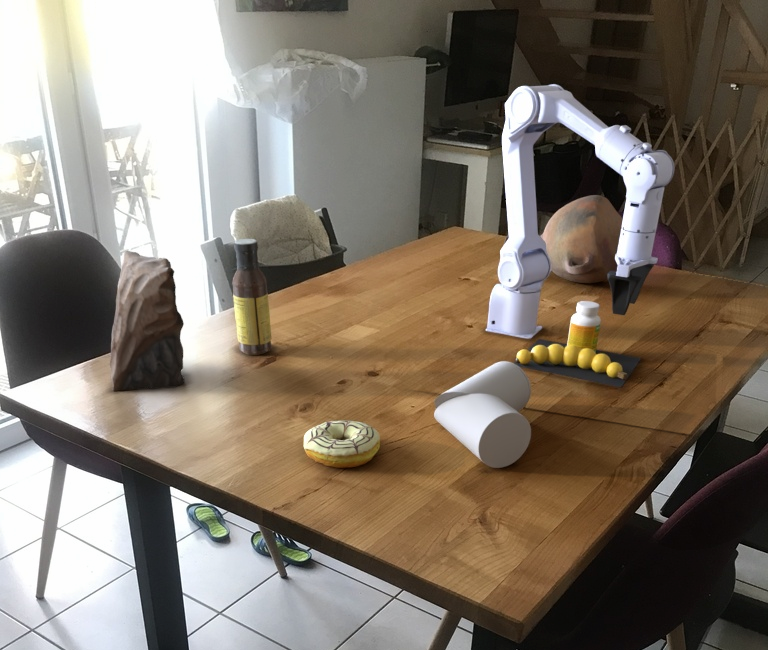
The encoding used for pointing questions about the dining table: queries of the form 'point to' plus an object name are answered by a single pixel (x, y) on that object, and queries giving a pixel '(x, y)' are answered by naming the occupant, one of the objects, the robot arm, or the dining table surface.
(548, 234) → the jug
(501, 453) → the bent grey cylinder
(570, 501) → the dining table surface
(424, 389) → the dining table surface
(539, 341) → the placemat
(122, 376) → the brown rock
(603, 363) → the yellow lumpy bar
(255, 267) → the sauce bottle
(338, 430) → the decorated donut
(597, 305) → the supplement bottle
